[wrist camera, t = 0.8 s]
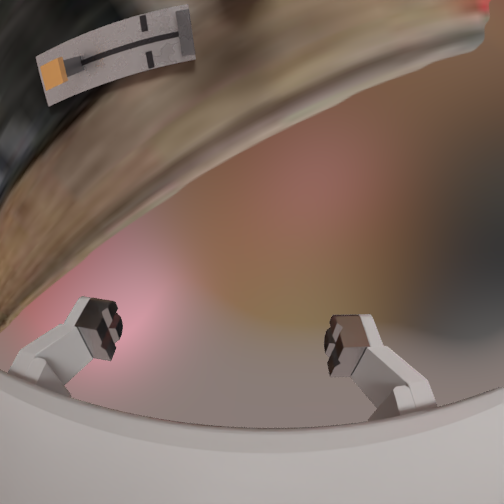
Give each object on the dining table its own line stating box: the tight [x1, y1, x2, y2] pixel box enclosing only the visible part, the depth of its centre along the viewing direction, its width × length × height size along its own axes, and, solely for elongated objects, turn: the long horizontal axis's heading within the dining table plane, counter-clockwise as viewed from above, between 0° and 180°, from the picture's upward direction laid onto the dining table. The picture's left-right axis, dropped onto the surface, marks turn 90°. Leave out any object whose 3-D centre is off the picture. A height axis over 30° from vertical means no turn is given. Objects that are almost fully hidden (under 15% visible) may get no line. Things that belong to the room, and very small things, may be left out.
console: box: [36, 4, 196, 106], centre depth 32 cm, size 26×10×3 cm, turn 95°
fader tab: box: [40, 56, 83, 91], centre depth 28 cm, size 3×4×10 cm
